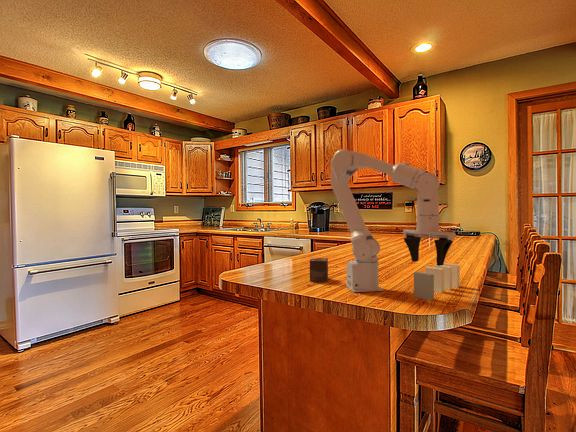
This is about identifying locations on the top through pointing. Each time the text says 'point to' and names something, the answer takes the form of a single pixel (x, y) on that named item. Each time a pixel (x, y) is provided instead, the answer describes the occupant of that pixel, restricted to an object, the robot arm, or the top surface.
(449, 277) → the domino
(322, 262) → the box
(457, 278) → the domino
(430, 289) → the domino
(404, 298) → the top surface
